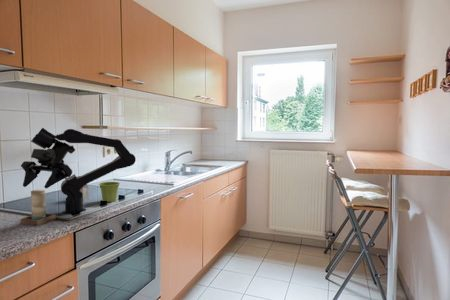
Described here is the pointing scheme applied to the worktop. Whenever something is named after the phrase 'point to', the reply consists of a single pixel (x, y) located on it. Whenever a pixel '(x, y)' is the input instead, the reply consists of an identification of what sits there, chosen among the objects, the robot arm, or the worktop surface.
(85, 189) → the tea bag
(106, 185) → the plant pot
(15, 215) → the worktop surface
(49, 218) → the walnut socket tray
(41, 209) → the birch sleeve
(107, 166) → the robot arm
